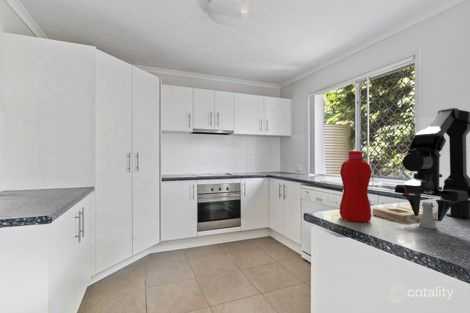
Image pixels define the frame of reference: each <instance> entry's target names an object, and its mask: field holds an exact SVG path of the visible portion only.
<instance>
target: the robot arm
mask: <svg viewBox="0 0 470 313" xmlns="http://www.w3.org/2000/svg"><path fill="white" fill-rule="evenodd" d="M469 132H470V111H469V110H463V109H462V110H461V109H458V108H456V107H451V108H450V107H449V108H442V109H440V110H438V111H437V115H436V116H435V117H434V119H433V120H432V122H431V123H430V124H429V125H428V126H427V128H425V129H422V130H419V131H418V132H417V133H416V134H415V135H414V136H413V138H412V141H411V142H410V144H409V148H408V151H407V152H408V153H407V154H406V155H405V156H404V157H403V159H402V166H403V168H404V169H406V170H407V171H409V172H416V173H413V178H411V179H409V180H407V181H406V182H404V183H403V184H396V185H395V187H394V193H397V194H401V196H402V197H404V198H405V199H406V200H407V201H408V203H409V205H410V207H412V210H413V212H414V215H415V216H418V214H419V209H421V208H420V206H421V197H422V196H421V195H425V196H426V195H427V196H434V197H440V199H435V202H436V203H437V221H438V222H442V221H443V219H444V218H445V217H446V216H448V217H453V218H458V219H463V220H470V176H469V174H468V173H467V172H468V171H467V167H468V166H467V165H468V164H467V135H469ZM445 134H446V135H447V136H448V138H449V139H448V140H449V141H448V142H449V175H448V177H447V178H445V179H444V182H443V183H444V184H443V186H440V178H443V174H442V173H440V166H441V165H440V164H441V163H440V158H441V156H442V155H441V154H440V152H441V151H443V148H444V147H445V144H446V142H447V139H446V138H445V136H444V135H445ZM449 210H450V212H449V213H448V211H449Z"/></svg>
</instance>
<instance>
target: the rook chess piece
mask: <svg viewBox="0 0 470 313" xmlns="http://www.w3.org/2000/svg"><path fill="white" fill-rule="evenodd" d="M421 206H422V208H421V209H422V210H423V216H422V218H421V220H420V221H418V222H419V224H418V225H419V226H420V228H424V229H427V230H428V229H430V230H434V229H437V226H436V225H437V223H436V222H435V219H433V214H432V212H433V211H434V210H433V208H434V207H435V205H434V203H433V202H429V201H427V202H426V201H423V202H422V204H421Z"/></svg>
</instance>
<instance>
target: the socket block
mask: <svg viewBox="0 0 470 313" xmlns="http://www.w3.org/2000/svg"><path fill="white" fill-rule="evenodd" d="M422 209H423V208H419V214H418V216H415V215H414V212H413V210H412V207H411V206H407V205H398V206H397V205H395V206H389V207H388V206H386V207H376V208H372V210H371V216H372V215H373V216H375V215H376V216H375V217H379V216H380V217H379V218H382V217H384V218H383V219H386V218H387V220H390V219H391V221H394V220H395V221H394V222H397V221H398V222H399V223H403V224H404V223H413V222H419V221H420V220H421V218H422V216H423V210H422ZM432 214H433V219H434V220H438V211H434V210H433V212H432Z"/></svg>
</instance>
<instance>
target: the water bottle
mask: <svg viewBox="0 0 470 313" xmlns="http://www.w3.org/2000/svg"><path fill="white" fill-rule="evenodd" d="M339 174H340V178H341V182H342V187H343V189H342V190H343V192H342V197H341V201H340V205H339V215H340V218H342V219H344V220H345V221H347V222H351V223H368V222H370V221H371V219H372V208H371V204H370V200H369V195H368V191H369V190H368V188H371V187H374V184H372V185H371V186H370V181H371V178H372V180H374V177H373V172H372V169H371V165H370V164H369V163H368V162H367V161H365V160H364V156H363V152H362V151H359V150H351V151H349V152H348V159H347V160H345V161H344V162H343V163H342V164H341V166H340V171H339Z"/></svg>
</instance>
